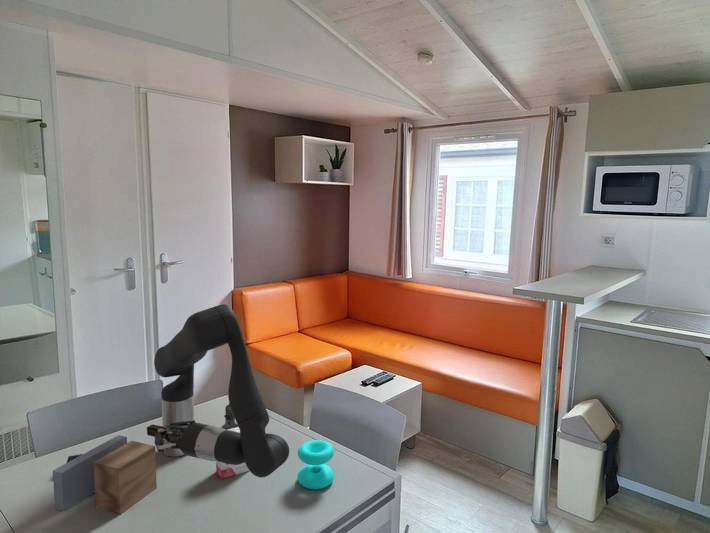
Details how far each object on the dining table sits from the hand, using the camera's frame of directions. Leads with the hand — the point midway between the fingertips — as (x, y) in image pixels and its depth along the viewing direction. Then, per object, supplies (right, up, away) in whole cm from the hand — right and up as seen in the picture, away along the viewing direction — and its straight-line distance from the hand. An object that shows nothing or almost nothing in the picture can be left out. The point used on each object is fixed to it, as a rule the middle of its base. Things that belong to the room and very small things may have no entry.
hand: (149, 429), depth 117 cm
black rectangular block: (-28, -18, +17) cm, 38 cm away
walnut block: (-8, -19, +5) cm, 22 cm away
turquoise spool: (+40, -19, +14) cm, 47 cm away
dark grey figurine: (+10, -16, +38) cm, 43 cm away
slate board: (-19, -19, +9) cm, 28 cm away
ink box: (+16, -18, +18) cm, 30 cm away
